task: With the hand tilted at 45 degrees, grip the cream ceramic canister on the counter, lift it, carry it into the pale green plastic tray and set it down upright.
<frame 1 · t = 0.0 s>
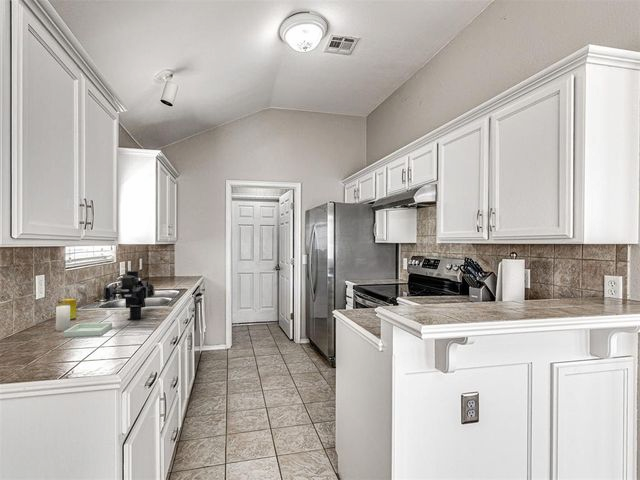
hand: (121, 295, 171), 17 cm above the counter, tool horizontal, fingers open, 9 cm apart
tray: (88, 332, 167), on the counter
canister: (62, 329, 172), on the counter
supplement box: (66, 320, 191), on the counter
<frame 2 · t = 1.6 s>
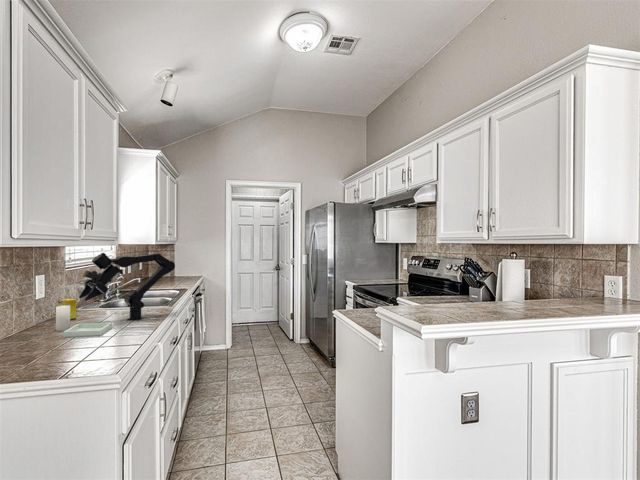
hand: (82, 299, 177), 14 cm above the counter, tool tilted 45°, fingers open, 9 cm apart
nothing on the counter moved.
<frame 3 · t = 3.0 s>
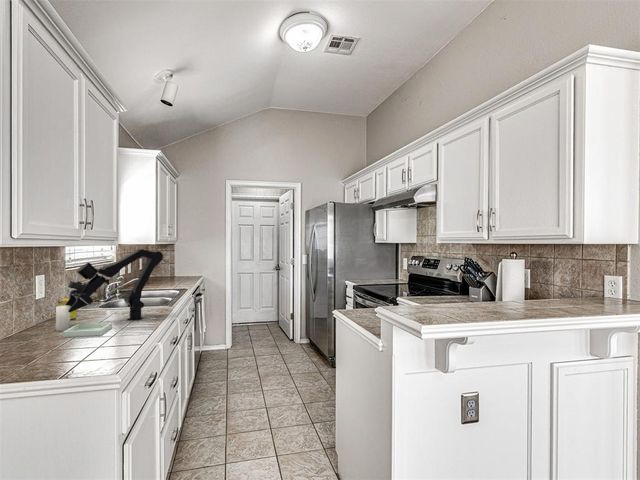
hand: (66, 310, 173), 9 cm above the counter, tool tilted 45°, fingers open, 9 cm apart
nothing on the counter moved.
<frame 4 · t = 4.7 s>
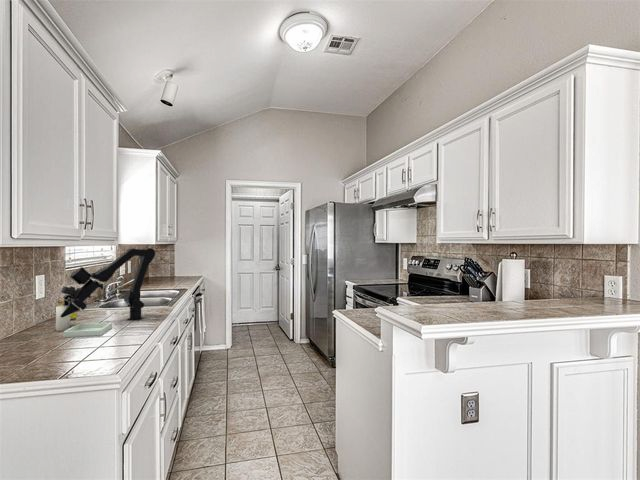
hand: (59, 315, 171), 7 cm above the counter, tool tilted 45°, fingers closed on canister, 5 cm apart
canister: (62, 329, 172), on the counter, touching gripper
everything else where it was.
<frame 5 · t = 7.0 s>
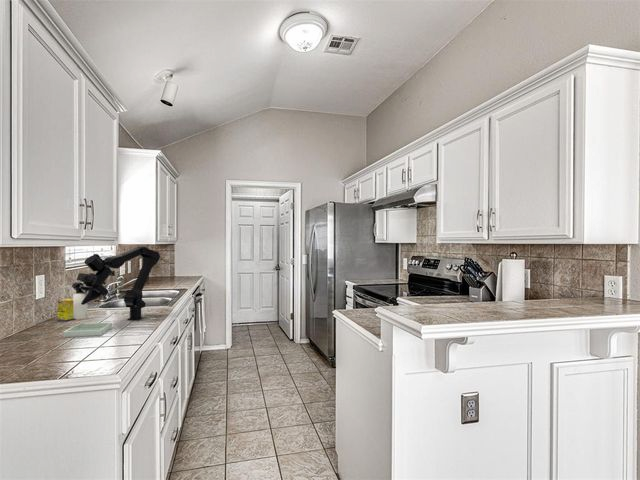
hand: (77, 303, 166), 13 cm above the counter, tool tilted 45°, fingers closed on canister, 5 cm apart
canister: (80, 317, 168), point 7 cm above the counter, touching gripper
everything else where it was.
when the fingers open (8 cm above the counter, at t = 9.4 s): canister drops 1 cm, resting on tray.
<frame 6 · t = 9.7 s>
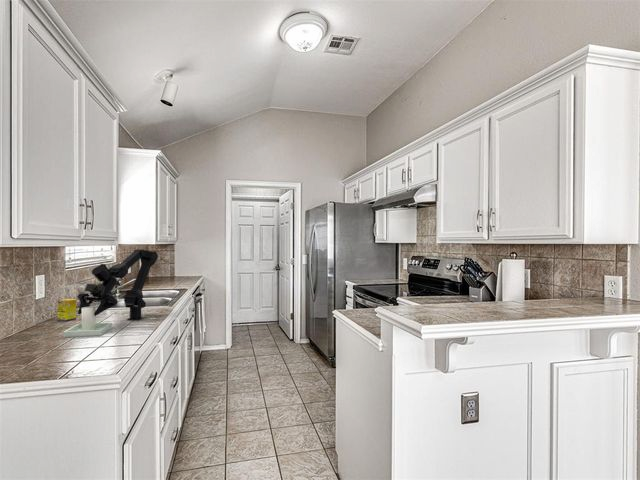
hand: (86, 314, 166), 9 cm above the counter, tool tilted 45°, fingers open, 9 cm apart
canister: (88, 331, 167), point 1 cm above the counter, touching tray
everything else where it was.
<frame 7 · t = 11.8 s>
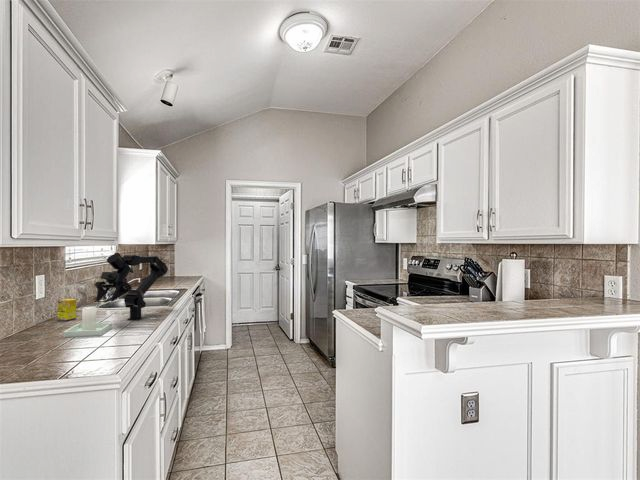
hand: (104, 300, 175), 13 cm above the counter, tool tilted 40°, fingers open, 9 cm apart
nothing on the counter moved.
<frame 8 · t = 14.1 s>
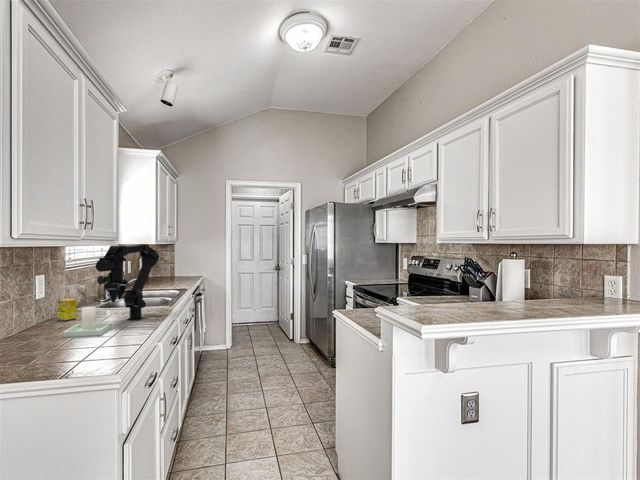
hand: (116, 300, 183), 12 cm above the counter, tool pointing down, fingers open, 9 cm apart
nothing on the counter moved.
at the end: canister inside the target area on the tray (0.1 cm from its centre), point 0.6 cm above the tray's base; canister tilted 1°; the gripper is holding nothing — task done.
